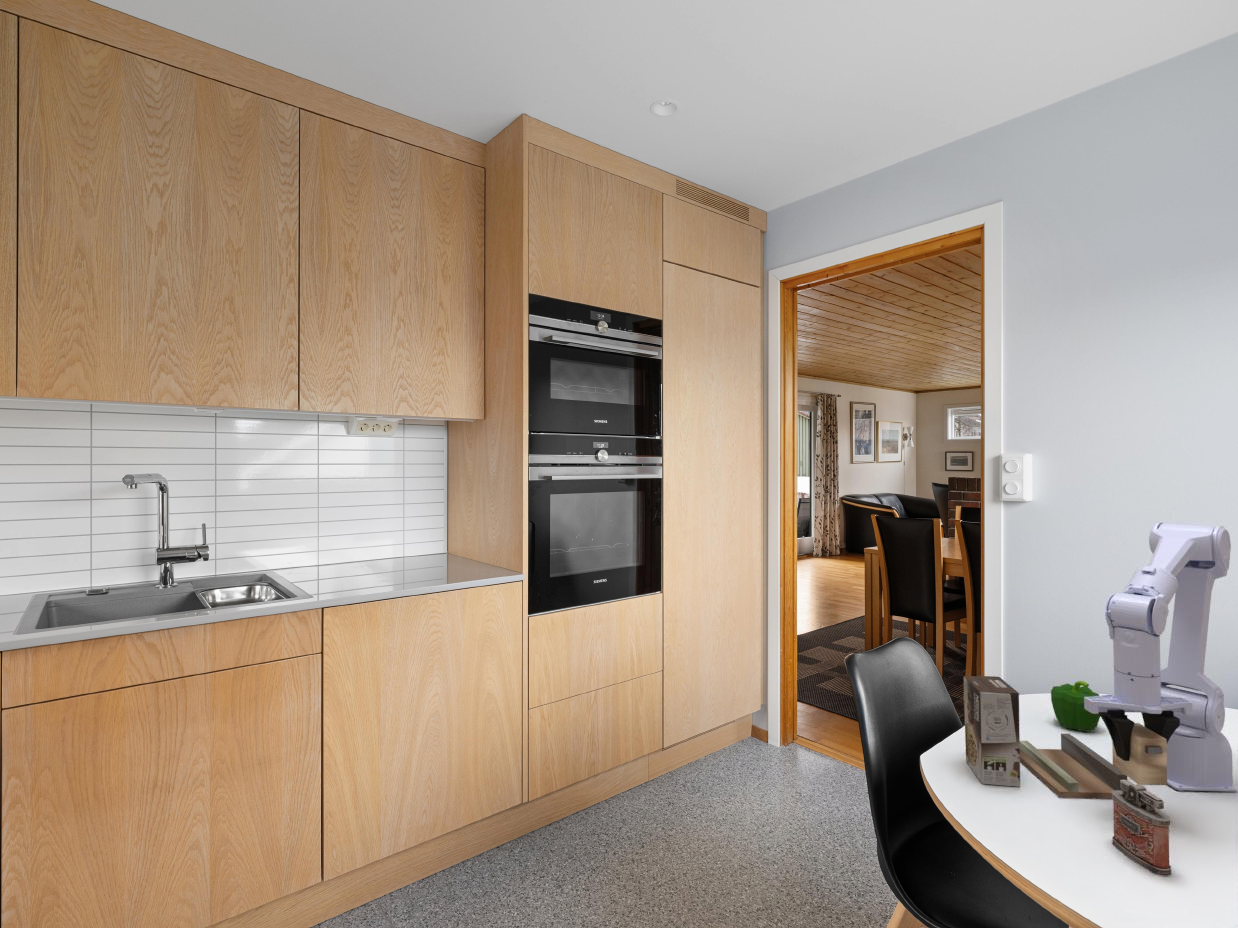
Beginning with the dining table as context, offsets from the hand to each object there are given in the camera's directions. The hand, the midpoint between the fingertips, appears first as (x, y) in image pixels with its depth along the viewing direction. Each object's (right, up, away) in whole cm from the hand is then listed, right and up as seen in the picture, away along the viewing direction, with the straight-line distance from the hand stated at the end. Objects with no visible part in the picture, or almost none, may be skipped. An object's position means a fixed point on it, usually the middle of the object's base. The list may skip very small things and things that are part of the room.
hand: (1138, 758), depth 101 cm
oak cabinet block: (0, -3, 0) cm, 3 cm away
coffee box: (-14, -10, +15) cm, 23 cm away
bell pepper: (+13, -9, +33) cm, 37 cm away
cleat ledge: (-2, -9, +13) cm, 16 cm away
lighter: (-8, -10, -10) cm, 16 cm away
